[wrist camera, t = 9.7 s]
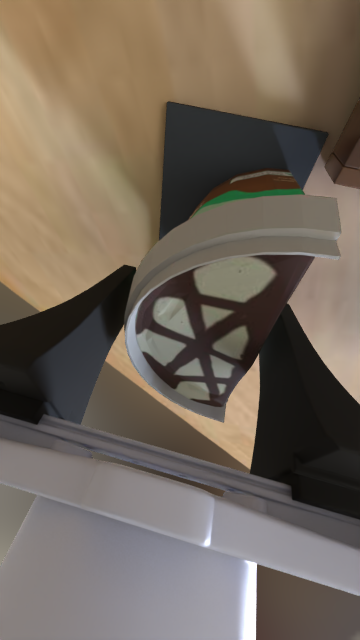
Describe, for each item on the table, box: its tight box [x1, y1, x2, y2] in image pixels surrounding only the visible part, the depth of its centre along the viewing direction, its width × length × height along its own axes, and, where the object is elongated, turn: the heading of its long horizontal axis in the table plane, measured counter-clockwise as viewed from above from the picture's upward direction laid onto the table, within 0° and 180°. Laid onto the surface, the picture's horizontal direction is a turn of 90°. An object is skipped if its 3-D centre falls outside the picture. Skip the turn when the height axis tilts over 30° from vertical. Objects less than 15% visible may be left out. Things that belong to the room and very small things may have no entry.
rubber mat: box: [159, 102, 329, 240], centre depth 17 cm, size 8×13×1 cm, turn 173°
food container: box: [124, 168, 342, 423], centre depth 13 cm, size 12×6×10 cm, turn 174°
